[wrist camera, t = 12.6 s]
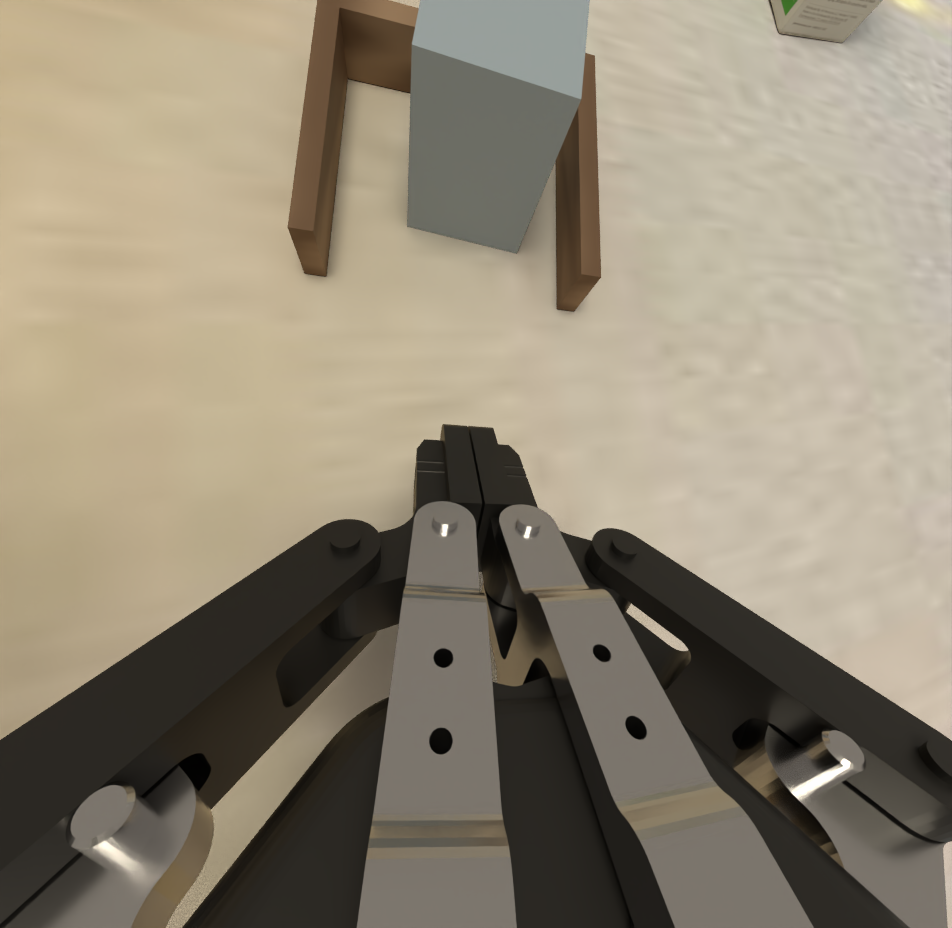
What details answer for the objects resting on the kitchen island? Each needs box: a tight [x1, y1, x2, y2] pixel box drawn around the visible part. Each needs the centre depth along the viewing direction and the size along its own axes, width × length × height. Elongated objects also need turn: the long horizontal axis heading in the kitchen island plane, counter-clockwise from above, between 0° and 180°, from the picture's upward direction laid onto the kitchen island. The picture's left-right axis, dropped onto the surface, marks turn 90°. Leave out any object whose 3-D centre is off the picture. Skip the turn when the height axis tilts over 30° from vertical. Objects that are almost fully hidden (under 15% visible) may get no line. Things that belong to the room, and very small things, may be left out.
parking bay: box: [288, 0, 601, 311], centre depth 20 cm, size 14×13×3 cm
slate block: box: [407, 0, 590, 254], centre depth 18 cm, size 6×6×8 cm
